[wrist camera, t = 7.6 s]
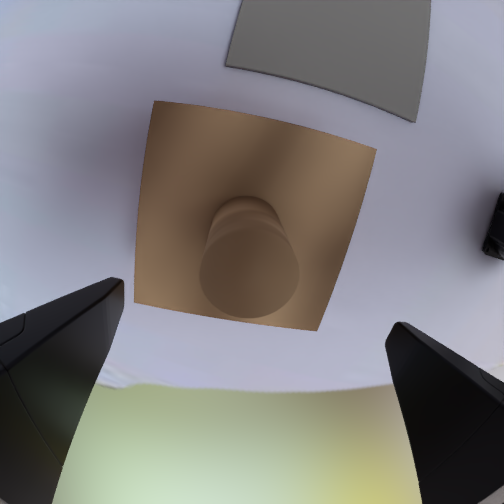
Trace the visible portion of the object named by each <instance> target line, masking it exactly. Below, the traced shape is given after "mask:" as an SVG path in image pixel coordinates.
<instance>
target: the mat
mask: <svg viewBox="0 0 504 504" xmlns="http://www.w3.org/2000/svg"><path fill="white" fill-rule="evenodd" d="M430 12H431V0H243V2H242V5H241V9H240V12H239V16H238V19H237V23H236V26H235V30H234V34H233V38H232V41H231V45H230V49H229V53H228V57H227V61H226V67H232V68H238V69H244V70H249V71H254V72H259V73H264V74H268V75H273V76H277V77H281V78H286V79H290V80H293V81H297V82H301V83H305V84H308V85H312V86H315V87H319V88H322V89H325V90H329V91H332V92H335V93H338V94H341V95H344V96H347V97H350V98H353V99H355V100H358V101H361V102H364V103H366V104H369V105H372V106H374V107H377V108H379V109H382V110H384V111H387V112H389V113H391V114H394V115H396V116H398V117H401V118H403V119H405V120H407V121H410V122H414V123H416V118H417V113H418V108H419V103H420V97H421V92H422V86H423V79H424V72H425V65H426V57H427V49H428V39H429V27H430Z"/></svg>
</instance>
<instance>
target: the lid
mask: <svg viewBox="0 0 504 504" xmlns="http://www.w3.org/2000/svg"><path fill="white" fill-rule="evenodd" d="M376 150H377V149H374V148H372V147H369V146H366V145H363V144H360V143H357V142H354V141H351V140H348V139H344V138H341V137H338V136H335V135H331V134H328V133H325V132H321V131H317V130H314V129H310V128H306V127H303V126H299V125H295V124H291V123H287V122H283V121H278V120H274V119H270V118H265V117H260V116H256V115H251V114H246V113H241V112H235V111H230V110H224V109H218V108H211V107H205V106H198V105H191V104H183V103H174V102H165V101H154V104H153V109H152V114H151V120H150V125H149V131H148V137H147V143H146V150H145V157H144V164H143V171H142V179H141V188H140V198H139V208H138V219H137V233H136V249H135V275H134V303H139V304H144V305H149V306H154V307H159V308H164V309H169V310H174V311H179V312H185V313H190V314H196V315H202V316H208V317H214V318H220V319H226V320H232V321H239V322H246V323H253V324H260V325H268V326H275V327H283V328H292V329H301V330H310V331H317V330H318V328H319V325H320V323H321V320H322V318H323V315H324V312H325V310H326V307H327V305H328V302H329V300H330V297H331V294H332V292H333V289H334V286H335V284H336V281H337V278H338V275H339V272H340V270H341V267H342V264H343V261H344V258H345V255H346V252H347V249H348V246H349V243H350V240H351V237H352V234H353V231H354V228H355V225H356V222H357V218H358V215H359V212H360V209H361V205H362V202H363V198H364V195H365V192H366V188H367V184H368V181H369V177H370V174H371V170H372V166H373V162H374V158H375V154H376Z"/></svg>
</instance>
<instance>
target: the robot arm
mask: <svg viewBox="0 0 504 504" xmlns="http://www.w3.org/2000/svg"><path fill="white" fill-rule="evenodd" d="M482 251H483V253H485V254H486V255H489V256H492V257H495V258H498V259H501V260H504V193H501V194H500V197H499V200H498V204H497V207H496V210H495V214H494V217H493V220H492V223H491V226H490V229H489V232H488V235H487V237H486V240H485V243H484V246H483V249H482ZM123 309H124V281H123V280H122V279H119V278H114V277H110V278H107V279H105V280H102V281H100V282H97V283H95V284H92V285H90V286H87V287H85V288H82V289H80V290H77V291H75V292H73V293H70V294H68V295H65V296H63V297H60V298H58V299H56V300H53V301H51V302H48V303H46V304H44V305H41V306H39V307H37V308H34V309H32V310H30V311H27V312H26V314H25V313H22V314H20V315H18V316H16V317H13V318H11V319H8V320H6V321H4V322H1V323H0V504H52V501H53V498H54V494H55V491H56V488H57V484H58V481H59V477H60V474H61V472H62V466H63V465H64V462H65V459H66V456H67V453H68V450H69V448H70V445H71V442H72V439H73V436H74V434H75V431H76V428H77V426H78V423H79V421H80V418H81V416H82V413H83V411H84V408H85V406H86V403H87V401H88V398H89V396H90V393H91V391H92V388H93V386H94V384H95V382H96V380H97V377H98V375H99V373H100V370H101V368H102V366H103V364H104V362H105V359H106V357H107V355H108V353H109V350H110V348H111V345H112V342H113V339H114V336H115V333H116V330H117V327H118V324H119V321H120V318H121V315H122V312H123ZM385 348H386V352H387V357H388V361H389V366H390V371H391V376H392V380H393V384H394V387H395V390H396V394H397V397H398V401H399V404H400V408H401V411H402V415H403V418H404V422H405V426H406V430H407V434H408V438H409V442H410V446H411V450H412V454H413V458H414V463H415V468H416V472H417V477H418V481H419V488H420V494H421V498H422V504H504V382H502V381H500V380H499V379H497V378H495V377H494V376H492V375H490V374H489V373H487V372H486V371H484V370H482V369H481V368H478V367H477V366H476V365H474V364H473V363H471V362H470V361H468V360H467V359H465V358H463V357H462V356H460V355H459V354H457V353H455V352H454V351H452V350H451V349H449V348H447V347H446V346H444V345H443V344H441V343H439V342H438V341H436V340H435V339H433V338H431V337H430V336H428V335H426V334H425V333H423V332H422V331H420V330H418V329H417V328H415V327H413V326H412V325H410V324H409V323H407V322H396V323H395V324H394V326H393V328H392V330H391V331H390V333H389V335H388V337H387V339H386V342H385Z"/></svg>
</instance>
